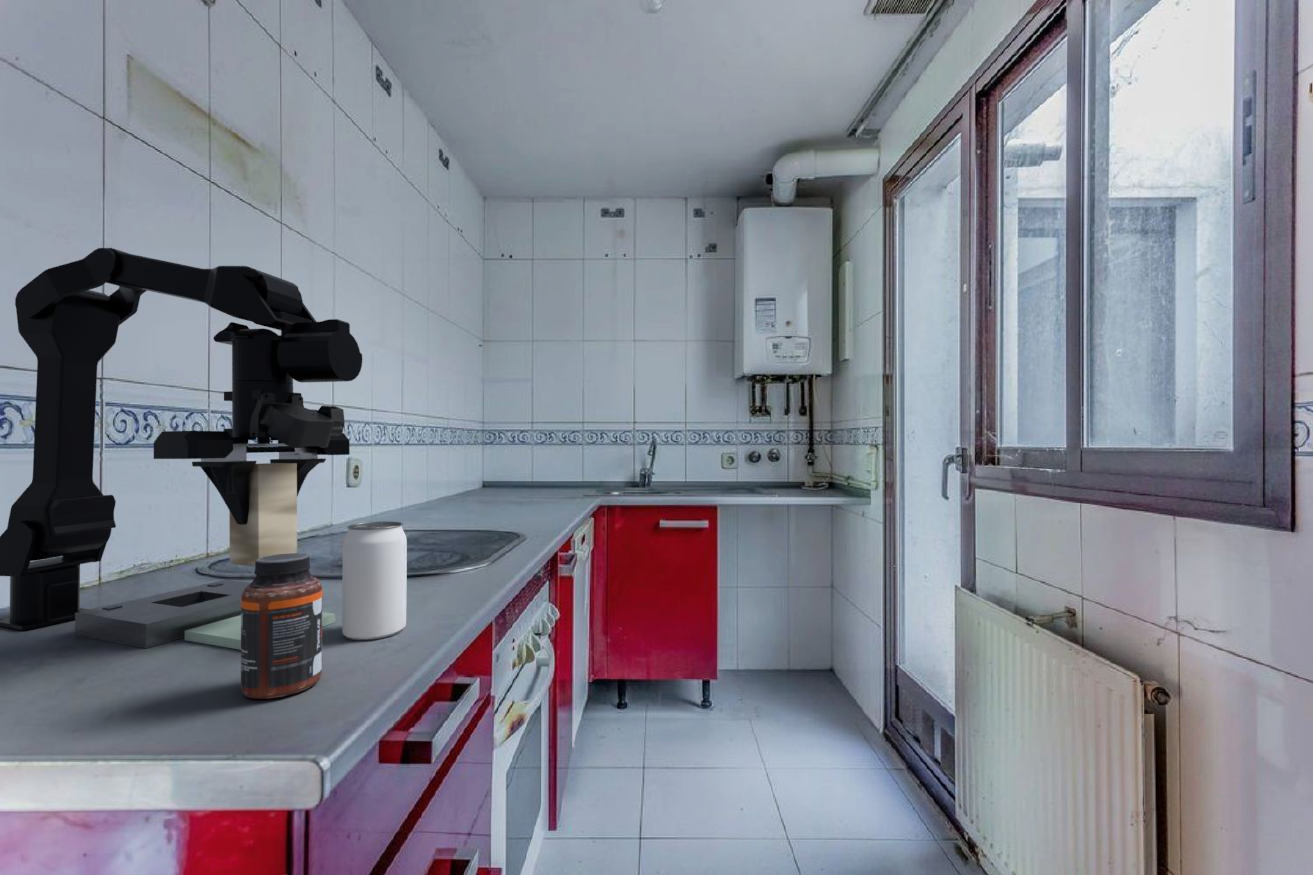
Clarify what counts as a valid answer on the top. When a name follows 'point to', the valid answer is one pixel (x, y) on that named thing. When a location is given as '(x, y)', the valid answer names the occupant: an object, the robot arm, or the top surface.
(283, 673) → the supplement bottle
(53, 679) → the top surface
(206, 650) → the top surface
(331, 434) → the robot arm
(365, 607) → the can
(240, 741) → the top surface
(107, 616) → the plate
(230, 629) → the pad
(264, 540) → the peg
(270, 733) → the top surface
